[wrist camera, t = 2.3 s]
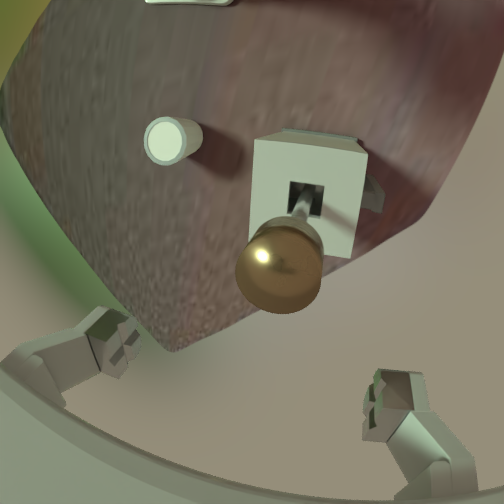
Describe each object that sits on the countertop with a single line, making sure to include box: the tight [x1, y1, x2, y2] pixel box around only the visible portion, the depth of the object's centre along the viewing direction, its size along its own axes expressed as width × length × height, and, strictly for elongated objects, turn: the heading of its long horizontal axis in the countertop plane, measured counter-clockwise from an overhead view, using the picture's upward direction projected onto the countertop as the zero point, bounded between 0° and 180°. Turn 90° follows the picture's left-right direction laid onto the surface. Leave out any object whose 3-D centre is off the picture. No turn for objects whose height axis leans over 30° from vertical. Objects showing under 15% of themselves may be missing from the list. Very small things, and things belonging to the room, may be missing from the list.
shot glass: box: [144, 117, 203, 165], centre depth 41 cm, size 7×7×7 cm
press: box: [249, 128, 385, 259], centre depth 34 cm, size 13×10×18 cm
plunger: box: [235, 181, 325, 314], centre depth 23 cm, size 7×7×20 cm
